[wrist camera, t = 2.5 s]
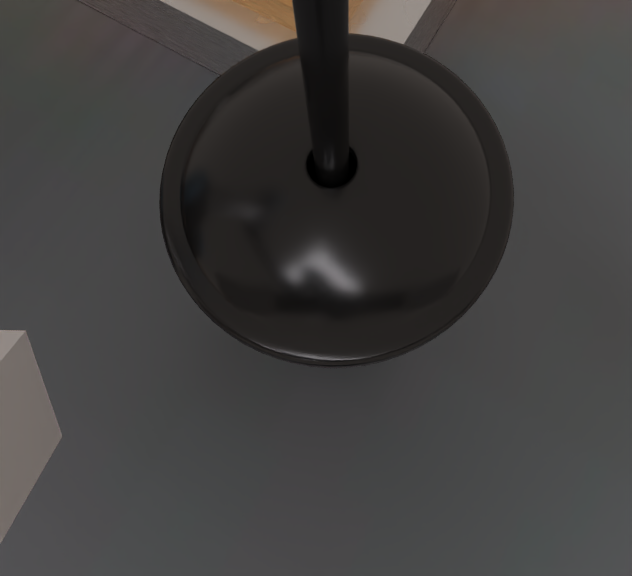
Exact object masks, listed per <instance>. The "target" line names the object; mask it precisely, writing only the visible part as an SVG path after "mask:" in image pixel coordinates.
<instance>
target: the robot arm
mask: <svg viewBox="0 0 632 576" xmlns="http://www.w3.org/2000/svg"><path fill="white" fill-rule="evenodd" d="M61 438H62V434H61V431H60V428H59V425H58V422H57V419H56V416H55V413H54V411H53V408H52V405H51V402H50V399H49V396H48V393H47V390H46V388H45V385H44V382H43V379H42V376H41V373H40V370H39V367H38V365H37V362H36V359H35V356H34V353H33V350H32V347H31V344H30V341H29V339H28V336H27V333H26V331H21V330H0V544H1V542H2V540H3V539H4V537H5V535H6V533H7V532H8V530H9V528H10V526H11V525H12V523H13V521H14V519H15V518H16V516H17V514H18V513H19V511H20V509H21V507H22V506H23V504H24V502H25V500H26V499H27V497H28V495H29V493H30V492H31V490H32V488H33V487H34V485H35V483H36V481H37V480H38V478H39V476H40V474H41V473H42V471H43V469H44V467H45V466H46V464H47V462H48V461H49V459H50V457H51V455H52V454H53V452H54V450H55V448H56V447H57V445H58V443H59V441H60V440H61Z"/></svg>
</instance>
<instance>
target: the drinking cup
mask: <svg viewBox="0 0 632 576" xmlns="http://www.w3.org/2000/svg"><path fill="white" fill-rule="evenodd" d="M292 5H293V12H294V19H295V27H296V34H297V38H294V39H290V40H287V41H284V42H280V43H277V44H274V45H272V46H269V47H267V48H265V49H262V50H260V51H258V52H256V53H254V54H252V55H250V56H248V57H246V58H245V59H243V60H241V61H240V62H238V63H237V64H235V65H234V66H232V67H231V68H229V69H228V70H227V71H226V72H224V73H223V74H222V75H220V76H219V77H218V78H217V79H216V80H215V81H214V82H213V83H212V84H211V85H209V86H208V87H207V88H206V89H205V91H204V92H203V93H202V94H201V95H200V96H199V97H198V98H197V100H196V101H195V102H194V104H193V105H192V106H191V108H190V109H189V110H188V112H187V113H186V115H185V117H184V118H183V120H182V122H181V123H180V125H179V127H178V129H177V131H176V133H175V135H174V137H173V140H172V142H171V145H170V148H169V150H168V153H167V156H166V160H165V164H164V168H163V173H162V179H161V185H160V201H159V204H160V205H159V207H160V220H161V227H162V233H163V238H164V242H165V245H166V249H167V252H168V255H169V258H170V260H171V263H172V265H173V268H174V270H175V272H176V274H177V275H178V277H179V279H180V281H181V283H182V285H183V286H184V288H185V289H186V291H187V292H188V294H189V295H190V296H191V298H192V299H193V300H194V302H195V303H196V304H197V305H198V306H199V308H200V309H201V310H202V311H203V312H204V313H205V314H206V315H207V316H208V317H209V318H210V319H211V320H212V321H213V322H214V323H215V324H216V325H218V326H219V327H220V328H222V329H223V330H224V331H225V332H226V333H228V334H229V335H231V336H232V337H234V338H235V339H237V340H238V341H240V342H241V343H243V344H245V345H247V346H249V347H251V348H253V349H255V350H256V351H258V352H261V353H263V354H266V355H268V356H271V357H273V358H276V359H279V360H283V361H286V362H290V363H294V364H299V365H305V366H310V367H322V368H348V367H357V366H365V365H370V364H374V363H379V362H383V361H387V360H389V359H392V358H395V357H399V356H401V355H404V354H406V353H408V352H410V351H412V350H415V349H417V348H419V347H421V346H422V345H424V344H426V343H427V342H429V341H431V340H433V339H434V338H436V337H437V336H439V335H440V334H441V333H443V332H444V331H446V330H447V329H448V328H449V327H451V326H452V325H453V324H454V323H455V322H456V321H457V320H459V319H460V318H461V317H462V316H463V315H464V314H465V313H466V312H467V311H468V310H469V308H470V307H471V306H472V305H473V304H474V303H475V302H476V301H477V299H478V298H479V296H480V295H481V294H482V292H483V291H484V290H485V288H486V287H487V285H488V284H489V282H490V280H491V279H492V277H493V275H494V274H495V272H496V270H497V268H498V265H499V263H500V261H501V259H502V256H503V254H504V251H505V248H506V245H507V242H508V238H509V234H510V229H511V224H512V217H513V207H514V188H513V178H512V171H511V167H510V162H509V158H508V154H507V151H506V148H505V145H504V142H503V140H502V137H501V135H500V133H499V131H498V128H497V126H496V124H495V122H494V121H493V119H492V117H491V115H490V114H489V112H488V111H487V109H486V108H485V106H484V105H483V104H482V102H481V101H480V99H479V98H478V97H477V96H476V95H475V93H474V92H473V91H472V90H471V89H470V88H469V87H468V86H467V85H466V84H465V83H464V82H463V81H462V80H461V79H460V78H459V77H458V76H457V75H456V74H454V73H453V72H452V71H450V70H449V69H448V68H447V67H445V66H444V65H442V64H441V63H439V62H438V61H436V60H434V59H433V58H431V57H430V56H428V55H426V54H424V53H422V52H420V51H418V50H416V49H414V48H411V47H409V46H406V45H404V44H401V43H398V42H395V41H391V40H388V39H384V38H380V37H375V36H370V35H362V34H353V33H349V0H292Z"/></svg>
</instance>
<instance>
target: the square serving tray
mask: <svg viewBox="0 0 632 576" xmlns="http://www.w3.org/2000/svg"><path fill="white" fill-rule="evenodd" d="M78 1H80V2H82V3H84V4H86V5H88V6H89V7H91V8H93V9H95V10H97V11H99V12H101V13H103V14H105V15H107V16H108V17H110V18H112V19H114V20H116V21H118V22H120V23H122V24H124V25H126V26H128V27H129V28H131V29H133V30H135V31H137V32H139V33H141V34H143V35H145V36H147V37H149V38H150V39H152V40H154V41H156V42H158V43H160V44H162V45H164V46H166V47H168V48H170V49H171V50H173V51H175V52H177V53H179V54H181V55H183V56H185V57H187V58H189V59H190V60H192V61H194V62H196V63H198V64H200V65H202V66H204V67H206V68H208V69H210V70H211V71H213V72H215V73H217V74H219V75H222V74H223V73H224V72H226V71H227V70H228V69H229V68H231V67H232V66H234V65H235V64H237V63H238V62H240V61H241V60H243V59H245V58H246V57H248V56H250V55H252V54H254V53H256V52H258V51H260V50H262V49H265V48H267V47H269V46H272V45H274V44H277V43H280V42H284V41H287V40H290V39H294V38H297V34H296V27H295V19H294V12H293V5H292V0H78ZM456 1H457V0H349V33H353V34H362V35H370V36H375V37H380V38H384V39H388V40H391V41H395V42H398V43H401V44H404V45H406V46H409V47H411V48H414V49H416V50H418V51H420V52H422V53H424V52H425V50H426V48H427V47H428V45H429V44H430V42H431V40H432V39H433V37H434V36H435V34H436V32H437V31H438V29H439V28H440V26H441V24H442V23H443V21H444V20H445V18H446V16H447V15H448V13H449V12H450V10H451V9H452V7H453V5H454V4H455V2H456Z"/></svg>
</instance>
